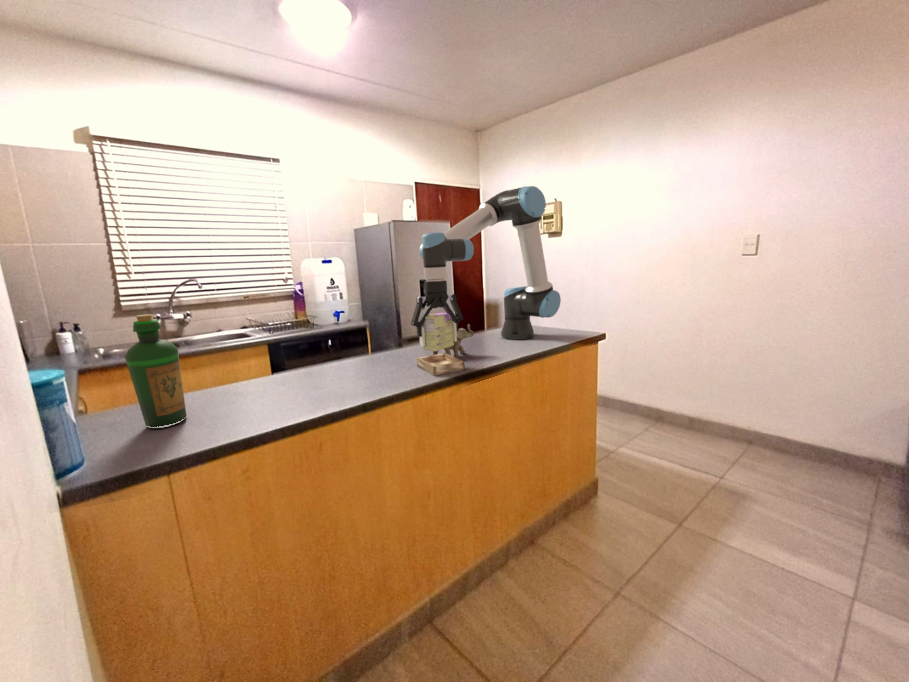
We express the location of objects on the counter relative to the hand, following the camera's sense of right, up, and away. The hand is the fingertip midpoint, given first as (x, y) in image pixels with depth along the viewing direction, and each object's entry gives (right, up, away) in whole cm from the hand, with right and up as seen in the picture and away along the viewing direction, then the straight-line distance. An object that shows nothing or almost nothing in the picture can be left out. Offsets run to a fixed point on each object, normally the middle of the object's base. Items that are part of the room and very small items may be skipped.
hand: (438, 343), depth 138 cm
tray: (0, -9, +2) cm, 9 cm away
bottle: (-68, -21, -37) cm, 80 cm away
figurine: (+5, -5, +17) cm, 19 cm away
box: (0, -2, 0) cm, 2 cm away
